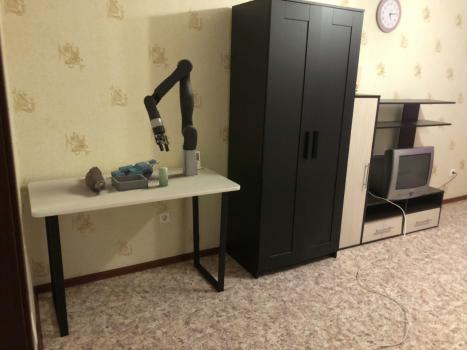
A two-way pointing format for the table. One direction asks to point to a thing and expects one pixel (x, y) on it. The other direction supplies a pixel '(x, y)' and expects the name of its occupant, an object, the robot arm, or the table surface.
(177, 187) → the table surface
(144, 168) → the toy
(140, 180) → the bin
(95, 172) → the cassava root
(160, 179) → the pale green rounded knob
